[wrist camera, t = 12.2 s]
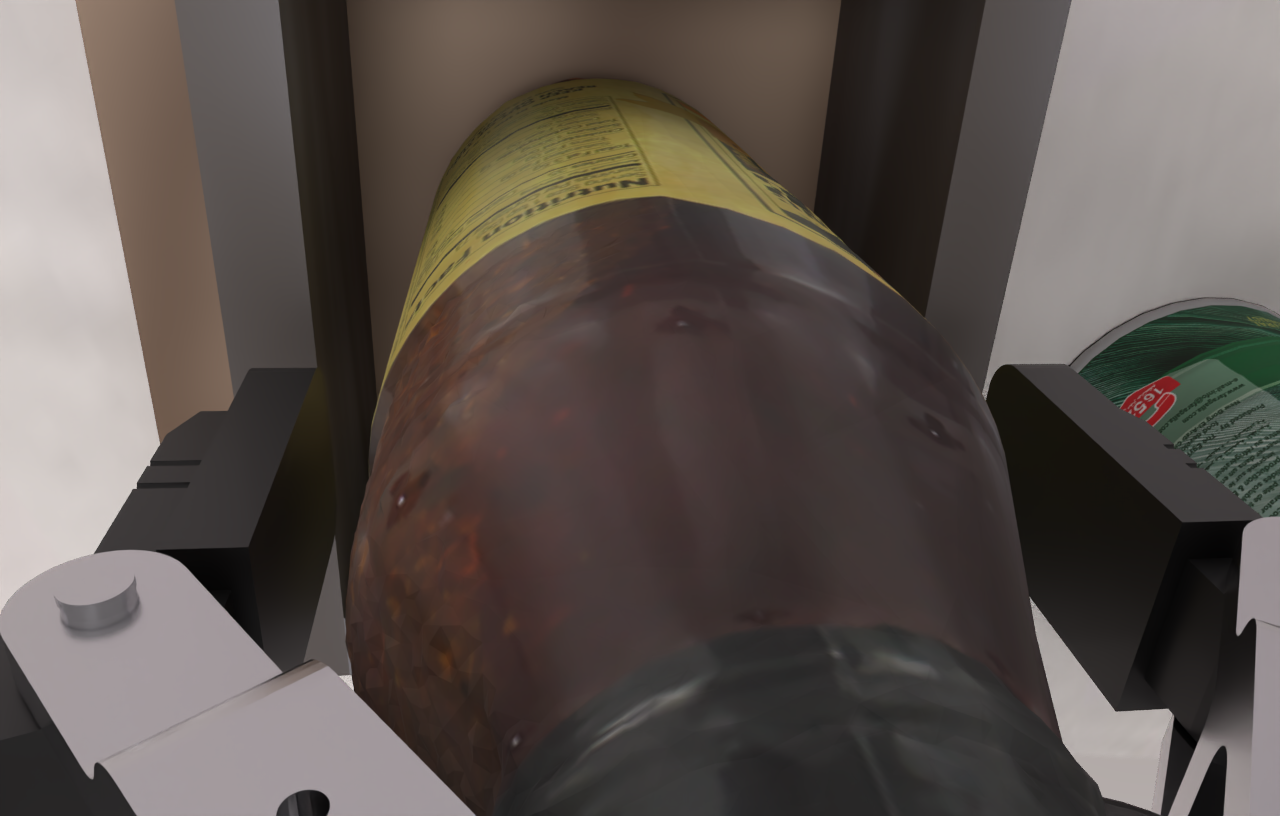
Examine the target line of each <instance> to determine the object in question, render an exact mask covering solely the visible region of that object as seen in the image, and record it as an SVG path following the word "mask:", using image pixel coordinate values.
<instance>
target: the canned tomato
mask: <svg viewBox="0 0 1280 816" xmlns="http://www.w3.org/2000/svg"><path fill="white" fill-rule="evenodd" d="M1070 367H1071V368H1072V369H1073V370H1074V371H1076V372H1077V373H1078V374H1079V375H1080V376H1082V377H1083V378H1084V379H1085V380H1086V381H1088V382H1089V383H1090V384H1091V385H1092V386H1094V387H1095V388H1096V389H1097V390H1098V391H1100V392H1101V393H1102V394H1103V395H1104V396H1105V397H1107V398H1108V399H1109V400H1110V401H1111V402H1113V403H1114V404H1115V405H1116V406H1117V407H1119V408H1120V409H1122V410H1124V411H1126V412H1128V413H1130V414H1132V415H1134V416H1136V417H1138V418H1140V419H1142V420H1144V421H1147V422H1148V423H1149V424H1150V425H1151V426H1153V427H1154V428H1155V429H1156V430H1157V431H1159V432H1160V433H1161V434H1162V435H1164V436H1165V437H1166V438H1167V439H1168V440H1170V441H1171V442H1172V443H1173V444H1174V449H1181V450H1182V451H1183V452H1184V453H1185V454H1187V455H1188V456H1189V457H1190V458H1191V459H1193V460H1194V461H1195V462H1196V463H1197V468H1204V469H1205V470H1206V471H1207V472H1208V473H1210V474H1211V475H1212V476H1213V477H1215V478H1216V479H1217V480H1218V481H1219V482H1221V483H1222V484H1223V485H1224V486H1225V487H1227V488H1228V489H1229V490H1230V491H1232V492H1233V493H1234V494H1235V495H1236V496H1238V497H1239V498H1240V499H1241V500H1243V501H1244V502H1245V503H1246V504H1247V505H1249V506H1250V507H1251V508H1252V509H1253V510H1255V511H1256V512H1257V513H1258V514H1260V515H1261V516H1262V517H1263V518H1266V517H1280V315H1279V314H1277V313H1275V312H1273V311H1271V310H1269V309H1267V308H1266V307H1264V306H1261V305H1257V304H1253V303H1249V302H1245V301H1241V300H1236V299H1222V298H1202V299H1196V300H1190V301H1184V302H1178V303H1173V304H1170V305H1167V306H1164V307H1161V308H1159V309H1156V310H1153V311H1150V312H1147V313H1145V314H1142V315H1140V316H1138V317H1136V318H1134V319H1132V320H1131V321H1129V322H1127V323H1125V324H1123V325H1121V326H1120V327H1118V328H1116V329H1114V330H1112V331H1111V332H1109V333H1108V334H1107V335H1105V336H1104V337H1103V338H1101V339H1100V340H1099V341H1097V342H1096V343H1095V344H1094V345H1092V346H1091V347H1090V348H1088V349H1087V350H1086V351H1084V352H1083V353H1082V354H1081V355H1080V356H1079V357H1078V358H1077V359H1076V360H1075V361H1074V363H1073V364H1072V365H1071V366H1070Z"/></svg>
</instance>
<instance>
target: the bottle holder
mask: <svg viewBox="0 0 1280 816" xmlns="http://www.w3.org/2000/svg"><path fill="white" fill-rule="evenodd" d="M1070 5H1071V0H76V6H77V11H78V16H79V21H80V26H81V32H82V37H83V42H84V47H85V53H86V58H87V63H88V68H89V74H90V79H91V84H92V89H93V94H94V100H95V105H96V110H97V115H98V121H99V126H100V131H101V136H102V142H103V147H104V152H105V157H106V162H107V168H108V173H109V178H110V183H111V189H112V194H113V199H114V204H115V210H116V215H117V220H118V225H119V230H120V236H121V241H122V246H123V251H124V257H125V262H126V267H127V272H128V278H129V283H130V288H131V293H132V299H133V304H134V309H135V314H136V319H137V325H138V330H139V335H140V340H141V346H142V351H143V356H144V361H145V367H146V372H147V377H148V382H149V387H150V393H151V398H152V403H153V408H154V414H155V419H156V424H157V429H158V435H159V440H160V444H161V443H162V441H163V439H164V438H165V436H166V434H168V433H169V432H171V431H172V430H174V429H175V428H177V427H178V426H179V425H181V424H182V423H184V422H185V421H187V420H188V419H190V418H191V417H193V416H194V415H196V414H197V413H199V412H200V411H228V409H229V407H230V405H231V403H232V401H233V399H234V397H235V395H236V393H237V391H238V390H239V388H240V386H241V384H242V382H243V380H244V378H245V376H246V374H247V372H248V371H249V369H251V368H320V369H321V371H322V373H323V377H324V381H325V388H326V396H327V406H328V416H329V426H330V436H331V445H332V455H333V465H334V475H335V485H336V504H337V508H336V529H335V537H334V543H333V547H332V551H331V555H330V559H329V563H328V567H327V571H326V575H325V579H324V583H323V587H322V591H321V594H320V598H319V602H318V606H317V610H316V614H315V618H314V622H313V626H312V630H311V634H310V638H309V642H308V646H307V650H306V654H305V658H304V662H306V661H308V660H310V659H316V660H319V661H321V662H323V663H324V664H326V665H327V666H329V667H330V668H331V669H332V670H333V671H334V672H335V673H336V674H337V675H338V676H341V675H352V670H351V663H350V659H349V656H348V652H347V647H346V643H345V639H346V625H345V617H346V595H347V586H348V580H349V567H350V554H351V549H352V545H353V541H354V533H355V532H356V529H357V524H358V520H359V517H360V511H361V505H362V503H363V500H364V497H365V490H366V484H367V482H368V480H369V464H368V458H369V448H370V437H371V426H372V421H373V417H374V413H375V409H376V406H377V402H378V398H379V394H380V390H381V387H382V383H383V379H384V375H385V372H386V368H387V364H388V361H389V357H390V354H391V350H392V347H393V343H394V340H395V336H396V333H397V329H398V326H399V322H400V318H401V315H402V311H403V308H404V304H405V301H406V297H407V294H408V290H409V287H410V283H411V280H412V276H413V273H414V269H415V266H416V262H417V258H418V255H419V251H420V248H421V244H422V241H423V237H424V234H425V230H426V226H427V223H428V219H429V216H430V212H431V209H432V205H433V202H434V198H435V195H436V192H437V189H438V187H439V184H440V182H441V179H442V177H443V175H444V173H445V171H446V170H447V168H448V166H449V164H450V161H451V159H452V158H453V157H454V155H455V154H456V153H457V151H458V150H459V149H460V147H461V146H462V144H463V143H464V142H465V140H466V139H467V138H468V137H469V136H470V135H471V133H472V132H473V131H474V130H475V129H476V128H477V127H478V126H479V125H480V124H481V123H482V122H483V121H484V120H485V119H487V118H488V117H489V116H490V115H491V114H492V113H494V112H495V111H496V110H497V109H498V108H500V107H501V106H502V105H503V104H504V103H506V102H507V101H509V100H511V99H514V98H516V97H518V96H521V95H523V94H526V93H528V92H531V91H533V90H535V89H538V88H540V87H544V86H548V85H552V84H554V83H557V82H560V81H563V80H567V79H573V78H582V79H617V80H625V81H633V82H638V83H641V84H644V85H648V86H651V87H654V88H658V89H660V90H662V91H664V92H666V93H669V94H671V95H673V96H675V97H677V98H678V99H680V100H681V101H683V102H685V103H686V104H688V105H690V106H691V107H693V108H695V109H696V110H698V111H699V112H700V113H701V114H702V115H704V116H705V117H706V118H707V119H708V120H710V121H711V122H712V123H713V124H714V125H715V126H717V127H718V128H719V129H720V130H721V131H722V132H723V133H725V134H726V135H727V136H728V137H729V138H730V139H731V140H732V141H734V142H735V143H736V144H737V145H738V146H739V147H740V148H741V149H742V150H744V151H745V152H746V153H747V154H748V155H749V156H750V157H751V158H752V159H753V160H754V161H755V162H756V163H757V164H758V165H759V166H760V167H761V168H763V169H764V170H765V171H766V172H767V173H768V174H769V175H770V176H771V177H772V178H773V179H775V180H776V181H777V182H778V183H780V184H781V185H782V186H783V187H784V188H785V189H786V190H788V191H789V192H790V193H792V194H793V195H794V196H795V197H796V198H797V199H798V200H800V201H801V202H802V203H803V204H804V205H805V206H806V207H807V208H808V209H809V210H810V211H812V212H813V213H814V214H815V215H816V216H817V217H818V218H819V219H820V220H821V221H822V222H823V223H824V224H825V225H826V226H827V227H828V228H829V229H830V230H831V231H832V232H833V233H834V234H835V235H837V236H838V237H839V238H840V239H841V240H842V241H843V242H844V243H845V245H846V246H847V247H848V248H849V249H850V250H851V251H853V252H854V253H855V254H856V255H858V256H859V257H860V258H861V259H862V260H863V261H864V262H866V263H867V264H868V265H869V266H870V267H871V268H872V269H873V270H874V271H875V272H876V273H877V274H879V275H880V276H881V277H882V278H883V279H884V280H885V281H886V282H887V283H888V284H889V285H890V286H892V287H893V288H894V289H895V290H896V291H897V292H898V293H899V294H900V295H901V296H902V297H903V298H904V299H905V300H907V301H908V302H909V303H910V304H911V305H912V306H913V307H914V308H915V309H916V310H917V311H918V312H919V313H920V314H921V315H922V316H923V317H924V318H925V319H926V320H927V321H928V322H929V323H930V324H931V325H932V326H933V327H934V328H935V329H936V330H937V331H938V332H939V333H940V334H941V335H942V336H943V338H944V339H945V340H946V341H947V342H948V343H949V345H950V346H951V347H952V349H953V350H954V351H955V353H956V354H957V356H958V357H959V358H960V360H961V361H962V363H963V364H964V365H965V367H966V368H967V370H968V371H969V372H970V374H971V376H972V378H973V379H974V381H975V383H976V385H977V386H978V388H979V390H980V392H981V393H982V392H983V387H984V383H985V378H986V374H987V370H988V365H989V361H990V356H991V352H992V348H993V343H994V339H995V334H996V330H997V326H998V321H999V317H1000V312H1001V308H1002V304H1003V299H1004V295H1005V291H1006V286H1007V282H1008V277H1009V273H1010V269H1011V264H1012V260H1013V255H1014V251H1015V247H1016V242H1017V238H1018V233H1019V229H1020V225H1021V220H1022V216H1023V211H1024V207H1025V203H1026V198H1027V194H1028V189H1029V185H1030V181H1031V176H1032V172H1033V167H1034V163H1035V159H1036V154H1037V150H1038V145H1039V141H1040V137H1041V132H1042V128H1043V124H1044V119H1045V115H1046V110H1047V106H1048V102H1049V97H1050V93H1051V88H1052V84H1053V80H1054V75H1055V71H1056V66H1057V62H1058V58H1059V53H1060V49H1061V44H1062V40H1063V36H1064V31H1065V27H1066V22H1067V18H1068V14H1069V9H1070ZM304 662H303V663H304Z"/></svg>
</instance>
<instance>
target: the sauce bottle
mask: <svg viewBox="0 0 1280 816" xmlns="http://www.w3.org/2000/svg"><path fill="white" fill-rule="evenodd" d="M368 464H369V480H368V482H367V484H366V490H365V497H364V500H363V503H362V505H361V511H360V517H359V520H358V524H357V529H356V532H355V533H354V541H353V545H352V549H351V554H350V567H349V580H348V586H347V595H346V617H345V625H346V639H345V643H346V647H347V652H348V656H349V659H350V663H351V670H352V681H353V686H354V692H355V693H356V694H357V695H358V696H359V697H360V698H361V699H362V700H363V701H364V702H365V703H366V704H367V705H368V706H369V707H370V708H371V709H372V710H373V711H374V712H375V713H376V714H377V715H378V717H379V718H380V719H381V720H382V721H383V722H384V723H385V724H386V725H387V726H388V727H389V728H390V729H391V730H392V731H393V732H394V733H395V734H396V735H397V736H398V737H399V738H400V739H401V740H402V741H403V742H404V743H405V744H406V745H407V746H408V747H409V748H410V749H411V750H412V751H413V752H414V753H415V754H416V755H417V756H418V757H419V758H420V759H421V760H422V761H423V762H424V763H425V764H426V765H427V766H428V767H429V768H430V769H431V770H432V771H433V772H434V773H435V774H436V776H437V777H438V778H439V779H440V780H441V781H442V782H443V783H444V784H445V785H446V786H447V787H448V788H449V789H450V790H451V791H452V792H453V793H454V794H455V795H456V796H457V797H458V798H459V799H460V800H461V801H462V802H463V803H464V804H465V805H466V806H467V807H468V808H469V809H470V810H471V811H472V812H473V813H474V814H475V815H476V816H1107V812H1106V808H1105V804H1104V801H1103V798H1102V795H1101V792H1100V790H1099V787H1098V784H1097V783H1096V782H1095V781H1094V780H1093V779H1092V778H1091V777H1090V776H1089V775H1088V773H1087V772H1086V771H1085V770H1084V769H1083V768H1082V767H1081V766H1080V765H1079V764H1078V763H1077V762H1076V760H1075V759H1074V758H1073V756H1072V755H1071V754H1070V752H1069V751H1068V750H1067V748H1066V747H1065V745H1064V744H1063V742H1062V738H1061V734H1060V730H1059V726H1058V722H1057V718H1056V714H1055V710H1054V706H1053V702H1052V698H1051V694H1050V690H1049V686H1048V682H1047V678H1046V674H1045V670H1044V666H1043V662H1042V658H1041V654H1040V650H1039V645H1038V641H1037V637H1036V633H1035V627H1034V621H1033V615H1032V609H1031V603H1030V598H1029V592H1028V586H1027V580H1026V574H1025V568H1024V562H1023V556H1022V551H1021V545H1020V539H1019V533H1018V527H1017V521H1016V516H1015V510H1014V504H1013V498H1012V492H1011V486H1010V480H1009V475H1008V469H1007V463H1006V457H1005V452H1004V449H1003V446H1002V443H1001V439H1000V436H999V433H998V429H997V426H996V424H995V421H994V419H993V417H992V414H991V412H990V410H989V407H988V405H987V403H986V400H985V399H984V397H983V395H982V393H981V392H980V390H979V388H978V386H977V385H976V383H975V381H974V379H973V378H972V376H971V374H970V372H969V371H968V370H967V368H966V367H965V365H964V364H963V363H962V361H961V360H960V358H959V357H958V356H957V354H956V353H955V351H954V350H953V349H952V347H951V346H950V345H949V343H948V342H947V341H946V340H945V339H944V338H943V336H942V335H941V334H940V333H939V332H938V331H937V330H936V329H935V328H934V327H933V326H932V325H931V324H930V323H929V322H928V321H927V320H926V319H925V318H924V317H923V316H922V315H921V314H920V313H919V312H918V311H917V310H916V309H915V308H914V307H913V306H912V305H911V304H910V303H909V302H908V301H907V300H905V299H904V298H903V297H902V296H901V295H900V294H899V293H898V292H897V291H896V290H895V289H894V288H893V287H892V286H890V285H889V284H888V283H887V282H886V281H885V280H884V279H883V278H882V277H881V276H880V275H879V274H877V273H876V272H875V271H874V270H873V269H872V268H871V267H870V266H869V265H868V264H867V263H866V262H864V261H863V260H862V259H861V258H860V257H859V256H858V255H856V254H855V253H854V252H853V251H851V250H850V249H849V248H848V247H847V246H846V245H845V243H844V242H843V241H842V240H841V239H840V238H839V237H838V236H837V235H835V234H834V233H833V232H832V231H831V230H830V229H829V228H828V227H827V226H826V225H825V224H824V223H823V222H822V221H821V220H820V219H819V218H818V217H817V216H816V215H815V214H814V213H813V212H812V211H810V210H809V209H808V208H807V207H806V206H805V205H804V204H803V203H802V202H801V201H800V200H798V199H797V198H796V197H795V196H794V195H793V194H792V193H790V192H789V191H788V190H786V189H785V188H784V187H783V186H782V185H781V184H780V183H778V182H777V181H776V180H775V179H773V178H772V177H771V176H770V175H769V174H768V173H767V172H766V171H765V170H764V169H763V168H761V167H760V166H759V165H758V164H757V163H756V162H755V161H754V160H753V159H752V158H751V157H750V156H749V155H748V154H747V153H746V152H745V151H744V150H742V149H741V148H740V147H739V146H738V145H737V144H736V143H735V142H734V141H732V140H731V139H730V138H729V137H728V136H727V135H726V134H725V133H723V132H722V131H721V130H720V129H719V128H718V127H717V126H715V125H714V124H713V123H712V122H711V121H710V120H708V119H707V118H706V117H705V116H704V115H702V114H701V113H700V112H699V111H698V110H696V109H695V108H693V107H691V106H690V105H688V104H686V103H685V102H683V101H681V100H680V99H678V98H677V97H675V96H673V95H671V94H669V93H666V92H664V91H662V90H660V89H658V88H654V87H651V86H648V85H644V84H641V83H638V82H633V81H625V80H617V79H582V78H573V79H567V80H563V81H560V82H557V83H554V84H552V85H548V86H544V87H540V88H538V89H535V90H533V91H531V92H528V93H526V94H523V95H521V96H518V97H516V98H514V99H511V100H509V101H507V102H506V103H504V104H503V105H502V106H501V107H500V108H498V109H497V110H496V111H495V112H494V113H492V114H491V115H490V116H489V117H488V118H487V119H485V120H484V121H483V122H482V123H481V124H480V125H479V126H478V127H477V128H476V129H475V130H474V131H473V132H472V133H471V135H470V136H469V137H468V138H467V139H466V140H465V142H464V143H463V144H462V146H461V147H460V149H459V150H458V151H457V153H456V154H455V155H454V157H453V158H452V159H451V161H450V164H449V166H448V168H447V170H446V171H445V173H444V175H443V177H442V179H441V182H440V184H439V187H438V189H437V192H436V195H435V198H434V202H433V205H432V209H431V212H430V216H429V219H428V223H427V226H426V230H425V234H424V237H423V241H422V244H421V248H420V251H419V255H418V258H417V262H416V266H415V269H414V273H413V276H412V280H411V283H410V287H409V290H408V294H407V297H406V301H405V304H404V308H403V311H402V315H401V318H400V322H399V326H398V329H397V333H396V336H395V340H394V343H393V347H392V350H391V354H390V357H389V361H388V364H387V368H386V372H385V375H384V379H383V383H382V387H381V390H380V394H379V398H378V402H377V406H376V409H375V413H374V417H373V421H372V426H371V437H370V448H369V458H368Z"/></svg>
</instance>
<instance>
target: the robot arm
mask: <svg viewBox="0 0 1280 816" xmlns="http://www.w3.org/2000/svg"><path fill="white" fill-rule="evenodd" d="M986 403H987V405H988V407H989V410H990V412H991V414H992V417H993V419H994V421H995V424H996V426H997V429H998V433H999V436H1000V439H1001V443H1002V446H1003V449H1004V452H1005V457H1006V463H1007V469H1008V475H1009V480H1010V486H1011V492H1012V498H1013V504H1014V510H1015V516H1016V521H1017V527H1018V533H1019V539H1020V545H1021V551H1022V556H1023V562H1024V568H1025V574H1026V580H1027V586H1028V592H1029V596H1030V598H1031V599H1032V600H1033V602H1034V603H1035V604H1036V606H1037V607H1038V608H1039V610H1040V611H1041V612H1042V614H1043V615H1044V616H1045V618H1046V619H1047V620H1048V622H1049V623H1050V624H1051V626H1052V627H1053V628H1054V630H1055V631H1056V632H1057V634H1058V635H1059V636H1060V638H1061V639H1062V640H1063V642H1064V643H1065V644H1066V646H1067V647H1068V648H1069V650H1070V651H1071V652H1072V654H1073V655H1074V656H1075V658H1076V659H1077V660H1078V662H1079V663H1080V664H1081V666H1082V667H1083V668H1084V670H1085V671H1086V672H1087V674H1088V675H1089V676H1090V678H1091V679H1092V680H1093V682H1094V683H1095V684H1096V686H1097V687H1098V688H1099V690H1100V691H1101V692H1102V694H1103V695H1104V696H1105V698H1106V699H1107V700H1108V702H1109V703H1110V704H1111V706H1112V707H1113V708H1114V710H1115V711H1134V710H1152V709H1169V710H1170V711H1171V712H1172V717H1171V719H1170V722H1169V724H1168V727H1167V730H1166V732H1165V735H1164V737H1163V741H1162V744H1161V751H1160V758H1159V765H1158V771H1157V779H1156V784H1155V791H1154V798H1153V804H1152V811H1148V810H1145V809H1142V808H1139V807H1136V806H1133V805H1130V804H1127V803H1124V802H1121V801H1116V800H1112V799H1108V798H1104V797H1102V798H1103V801H1104V804H1105V808H1106V812H1107V816H1280V517H1266V518H1263V517H1262V516H1261V515H1260V514H1258V513H1257V512H1256V511H1255V510H1253V509H1252V508H1251V507H1250V506H1249V505H1247V504H1246V503H1245V502H1244V501H1243V500H1241V499H1240V498H1239V497H1238V496H1236V495H1235V494H1234V493H1233V492H1232V491H1230V490H1229V489H1228V488H1227V487H1225V486H1224V485H1223V484H1222V483H1221V482H1219V481H1218V480H1217V479H1216V478H1215V477H1213V476H1212V475H1211V474H1210V473H1208V472H1207V471H1206V470H1205V469H1204V468H1197V463H1196V462H1195V461H1194V460H1193V459H1191V458H1190V457H1189V456H1188V455H1187V454H1185V453H1184V452H1183V451H1182V450H1181V449H1174V444H1173V443H1172V442H1171V441H1170V440H1168V439H1167V438H1166V437H1165V436H1164V435H1162V434H1161V433H1160V432H1159V431H1157V430H1156V429H1155V428H1154V427H1153V426H1151V425H1150V424H1149V423H1148V422H1147V421H1144V420H1142V419H1140V418H1138V417H1136V416H1134V415H1132V414H1130V413H1128V412H1126V411H1124V410H1122V409H1120V408H1119V407H1117V406H1116V405H1115V404H1114V403H1113V402H1111V401H1110V400H1109V399H1108V398H1107V397H1105V396H1104V395H1103V394H1102V393H1101V392H1100V391H1098V390H1097V389H1096V388H1095V387H1094V386H1092V385H1091V384H1090V383H1089V382H1088V381H1086V380H1085V379H1084V378H1083V377H1082V376H1080V375H1079V374H1078V373H1077V372H1076V371H1074V370H1073V369H1072V368H1071V367H1069V366H1068V365H1065V364H1009V365H1003V366H1001V367H1000V368H999V369H998V370H997V371H996V372H995V374H994V376H993V377H992V380H991V382H990V386H989V390H988V394H987V398H986ZM150 463H151V464H150V466H147V467H146V469H145V471H144V472H143V474H142V475H141V477H140V479H139V480H138V482H137V489H133V490H132V492H131V494H130V495H129V497H128V499H127V500H126V502H125V503H124V505H123V507H122V508H121V510H120V512H119V513H118V515H117V517H116V518H115V520H114V522H113V523H112V525H111V526H110V528H109V530H108V531H107V533H106V535H105V536H104V538H103V540H102V541H101V543H100V545H99V546H98V548H97V550H96V551H95V553H94V554H92V555H88V556H84V557H81V558H77V559H74V560H71V561H68V562H65V563H63V564H60V565H58V566H55V567H53V568H51V569H49V570H47V571H45V572H43V573H41V574H40V575H38V576H36V577H35V578H33V579H32V580H30V581H29V582H27V583H26V584H25V585H23V586H22V587H21V588H20V589H19V590H17V591H16V592H15V593H14V594H13V595H12V597H11V598H10V599H9V600H8V601H7V603H6V604H5V606H4V607H3V609H2V611H1V614H0V816H476V815H475V814H474V813H473V812H472V811H471V810H470V809H469V808H468V807H467V806H466V805H465V804H464V803H463V802H462V801H461V800H460V799H459V798H458V797H457V796H456V795H455V794H454V793H453V792H452V791H451V790H450V789H449V788H448V787H447V786H446V785H445V784H444V783H443V782H442V781H441V780H440V779H439V778H438V777H437V776H436V774H435V773H434V772H433V771H432V770H431V769H430V768H429V767H428V766H427V765H426V764H425V763H424V762H423V761H422V760H421V759H420V758H419V757H418V756H417V755H416V754H415V753H414V752H413V751H412V750H411V749H410V748H409V747H408V746H407V745H406V744H405V743H404V742H403V741H402V740H401V739H400V738H399V737H398V736H397V735H396V734H395V733H394V732H393V731H392V730H391V729H390V728H389V727H388V726H387V725H386V724H385V723H384V722H383V721H382V720H381V719H380V718H379V717H378V715H377V714H376V713H375V712H374V711H373V710H372V709H371V708H370V707H369V706H368V705H367V704H366V703H365V702H364V701H363V700H362V699H361V698H360V697H359V696H358V695H357V694H356V693H355V692H354V691H353V690H352V689H351V688H350V687H349V686H348V685H347V684H346V683H345V682H344V681H343V680H342V679H341V678H340V677H339V676H338V675H337V674H336V673H335V672H334V671H333V670H332V669H331V668H330V667H329V666H327V665H326V664H324V663H323V662H321V661H319V660H316V659H310V660H308V661H306V662H304V658H305V654H306V650H307V646H308V642H309V638H310V634H311V630H312V626H313V622H314V618H315V614H316V610H317V606H318V602H319V598H320V594H321V591H322V587H323V583H324V579H325V575H326V571H327V567H328V563H329V559H330V555H331V551H332V547H333V543H334V537H335V529H336V508H337V504H336V485H335V475H334V465H333V455H332V445H331V436H330V426H329V416H328V406H327V396H326V388H325V381H324V377H323V373H322V371H321V369H320V368H251V369H249V371H248V372H247V374H246V376H245V378H244V380H243V382H242V384H241V386H240V388H239V390H238V391H237V393H236V395H235V397H234V399H233V401H232V403H231V405H230V407H229V409H228V411H200V412H199V413H197V414H196V415H194V416H193V417H191V418H190V419H188V420H187V421H185V422H184V423H182V424H181V425H179V426H178V427H177V428H175V429H174V430H172V431H171V432H169V433H168V434H166V436H165V438H164V439H163V441H162V443H161V444H160V446H159V447H158V449H157V451H156V452H155V454H154V456H153V457H152V459H151V461H150ZM303 662H304V663H303Z"/></svg>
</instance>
